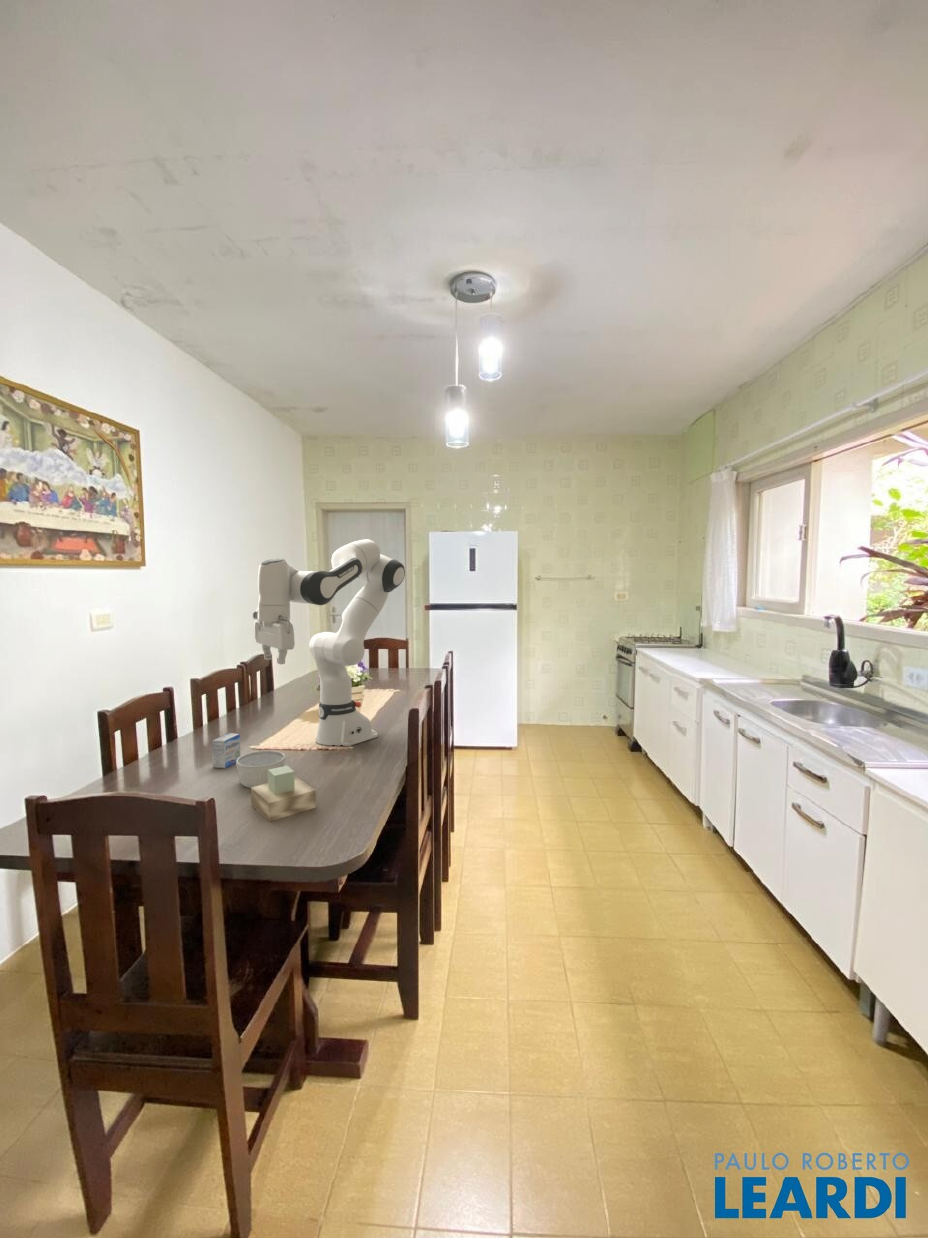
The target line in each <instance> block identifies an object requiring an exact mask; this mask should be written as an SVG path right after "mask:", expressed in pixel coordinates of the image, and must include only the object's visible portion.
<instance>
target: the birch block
mask: <svg viewBox="0 0 928 1238" xmlns="http://www.w3.org/2000/svg"><path fill="white" fill-rule="evenodd" d="M316 796H317V795H316V789H314V788H313V787H312V786H310V785H309V784H307V783H306V782H304V781H303V780H301V778H298V777H297V776H295V775H294V791H290V792H285V793H281V794H277V795H274V794H273V793H272V792H271V791H270V790H269V789H268V783H267V784H263V785H259V786H255V787H251V788H250V805H251V806H252V807H253V808H254V809H255V810H256V811H257V812H258V813H259V814H260V815H262V816H263V817H264V818H265V819H266V820H267V821H268V822H273V821H276V820H279V819H283V818H286V817H290V816H291V815H292V816H293V815H295V814H299V813H302V812H306V811H309V810H311V809H315V808H316V806H317V805H316Z"/></svg>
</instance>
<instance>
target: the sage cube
mask: <svg viewBox="0 0 928 1238" xmlns="http://www.w3.org/2000/svg"><path fill="white" fill-rule="evenodd" d="M294 776H295V770H294V769H292V768H291V767H290V766H289V765H284V766H283V767H278V768H274V769H269V770H268V789H269V790H270V791H271V792H272V793H273V794H274V795H277V794H281V793H285V792H290V791H294Z"/></svg>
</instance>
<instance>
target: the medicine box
mask: <svg viewBox="0 0 928 1238" xmlns="http://www.w3.org/2000/svg"><path fill="white" fill-rule="evenodd" d="M211 753H212V754H211V756H212V757H211V758H212V768H217V769H227V768H229V767H231V766H232V765H234V764H236V760H237V759H238V758H239V757H240V756H241V734H239V733H233V732H231V733H230V732H229V733H227V734H224V735H222V736H220V737H217V738H215V739H213V740H212V741H211Z"/></svg>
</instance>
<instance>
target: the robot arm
mask: <svg viewBox="0 0 928 1238" xmlns="http://www.w3.org/2000/svg"><path fill="white" fill-rule="evenodd" d="M331 567H332V569H331V570H329V571H326V570H314V571H311V570H307V571H304V570H303V571H302V570H300V569H297V568H295V567H293V565H291V564H290V563H288V560H287V559H284V558H275V559H267V560H264V561H262V562H261V563H260V564H259V567H258V570H257V571H258V572H257V592H258V596H259V597H258V600H257V601H258V602H257V608H256V609H255V610H254V611H253V612H252V618H253V620H254V621H253V625H254V639H255V642H256V643H257V644H260V645H261V648H262V652H263V659H264V660H266V661H270V660H272V659H273V654H272V652H271V651H272V650H271V648H274V649H277V652H278V657H276V660H277V661H276V663H277V664H278V665H285V664H286V658H287V657H286V656H287V654H288V650H289V651H290V650H294V648H295V643H296V642H295V632H294V631H295V629H294V625H293V623H291V603H300V604H311V605H316V606H324V605H326V604H327V605H328V604H329V603H330V602H331V601H332V600H333V598H335V596H336V594H337V593H338V592H339V591H340V590H342V588H344V587H346V586H347V585H349V584H350V583H351V582H353V581H355V580H356V579H357V578H361V580H364V581H365V583H364V585H363V586H362V587H361V588H360V590H358V592H357V593H356V594H355V595H354V597H352V599H351V601H350V602H349V604H348V605H347V606H346V607H345V609H344V610H343V612H342V614H341V620H342V621H341V625H340V627H339V629H338V630H337V632H333V631H323V632H318V633H316V634H314V635H313V636H312V637H311V638H310V641H309V645H308V648H309V652H310V653H311V656H313V659H314V661H315V665H316V669H317V674H318V678H319V693H320V694H319V697H320V698H319V702H318V717H319V718H318V719H319V722H318V727H317V728H318V729H317V734H316V737H315V742H316V743H318V744H319V745H322V746H323V745H324V746H332V745H335V746H340V745H343V746H342V747H351V746H354V745H356V744H360V743H363V742H366V741H368V740H369V741H370V740H372V739H375V738H377V737H378V735H379V734H378V732H377V731H376V730H374V729H372V723H371V721H370V719H369V718H368V717H367V716H365V715H364V714H362V713H361V712H360V711H358V710H357V708H361V707H362V703H361V702H360V701H358V700H357V701H354V700H353V699H352V697H353V696H352V695H353V694H352V693H353V691H352V690H353V689H352V687H353V685H352V683H353V682H352V678H351V676H350V675H349V673H348V670H347V667H350V666H356V665H358V664H359V663H361V661H362V660H363V659H364V657H365V652H366V651H365V646H364V641H365V638H366V635H367V633H368V631H369V630H370V628H371V626H372V624H373V623H374V621H375V620H376V619H377V617H378V616H379V614H380V613H381V612H382V610H383V608H384V606H385V604H386V601H387V599H388V597H389V593H390V592H393V591H394V590H395V589H397V588H398V587H400V585H401V584H402V582H403V581H404V580H405V575H406V571H405V569H406V568H405V566H404V564H403V563H402V562H401V561H399V560H397V559H394V558H392V557H389V556H387V555H384V554H381V550H380V547H379V545H378V544H377V543H376V542H375V541H373V540H371V539H368V538H367V539H360V540H355V541H352V542H350V543H348V544H345V545H343V546H341V547H339V548H338V549H336V550H335V551H334V552H333V553H332V556H331Z"/></svg>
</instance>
